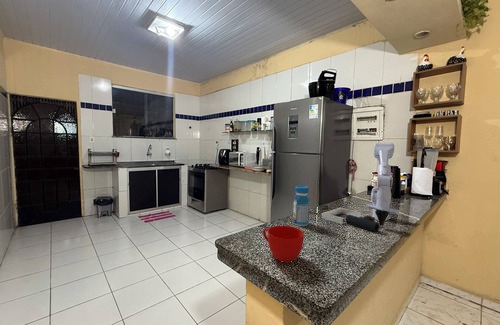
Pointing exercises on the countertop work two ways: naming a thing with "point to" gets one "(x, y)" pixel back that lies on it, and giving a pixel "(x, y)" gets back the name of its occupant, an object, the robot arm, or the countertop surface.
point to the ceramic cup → (284, 242)
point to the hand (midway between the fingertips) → (381, 225)
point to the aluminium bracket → (330, 214)
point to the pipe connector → (363, 222)
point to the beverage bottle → (301, 206)
